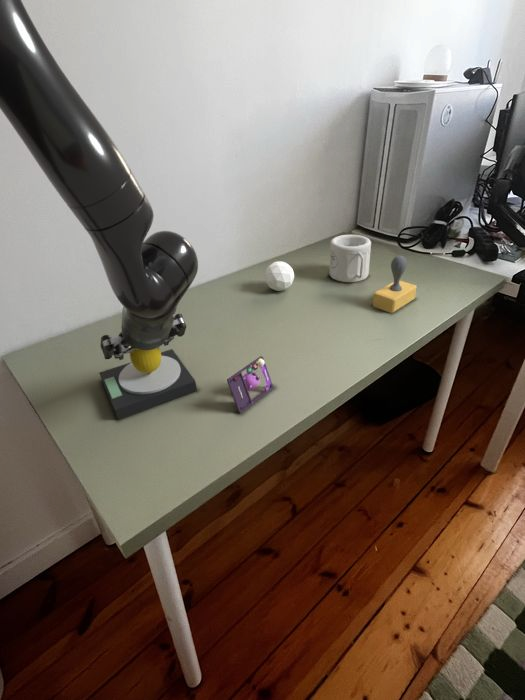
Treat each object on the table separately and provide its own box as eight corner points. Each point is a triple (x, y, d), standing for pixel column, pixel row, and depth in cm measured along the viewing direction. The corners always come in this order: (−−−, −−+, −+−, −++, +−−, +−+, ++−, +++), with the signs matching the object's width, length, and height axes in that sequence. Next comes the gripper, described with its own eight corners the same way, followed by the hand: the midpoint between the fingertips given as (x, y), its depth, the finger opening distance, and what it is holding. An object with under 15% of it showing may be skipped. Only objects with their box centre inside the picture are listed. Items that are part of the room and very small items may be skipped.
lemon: (169, 366, 84) (162, 331, 79) (155, 383, 80) (146, 347, 75) (145, 362, 85) (136, 327, 81) (129, 379, 81) (119, 343, 77)
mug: (323, 270, 125) (324, 236, 119) (358, 265, 127) (361, 231, 121) (341, 290, 114) (343, 253, 108) (379, 283, 116) (383, 248, 110)
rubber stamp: (395, 292, 111) (401, 247, 105) (415, 299, 108) (422, 253, 101) (372, 306, 106) (376, 259, 99) (392, 313, 102) (398, 266, 96)
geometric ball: (274, 300, 117) (256, 282, 112) (279, 279, 121) (261, 260, 117) (297, 291, 112) (279, 272, 108) (301, 270, 117) (284, 250, 112)
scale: (118, 420, 76) (114, 407, 75) (102, 382, 86) (98, 369, 84) (197, 390, 82) (194, 378, 80) (174, 358, 92) (171, 346, 90)
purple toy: (230, 380, 73) (265, 356, 79) (211, 377, 77) (246, 354, 82) (243, 413, 75) (276, 388, 81) (224, 409, 79) (257, 385, 85)
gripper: (183, 285, 69) (171, 318, 84) (91, 309, 64) (96, 340, 79) (199, 328, 68) (185, 354, 83) (108, 356, 63) (110, 378, 78)
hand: (142, 347), depth 81 cm, fingers open, 8 cm apart
